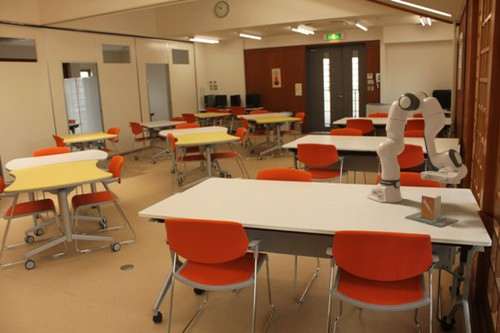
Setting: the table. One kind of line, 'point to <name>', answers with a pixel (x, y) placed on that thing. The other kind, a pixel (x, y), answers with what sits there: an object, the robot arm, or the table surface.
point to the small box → (431, 206)
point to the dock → (439, 222)
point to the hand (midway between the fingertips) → (430, 179)
